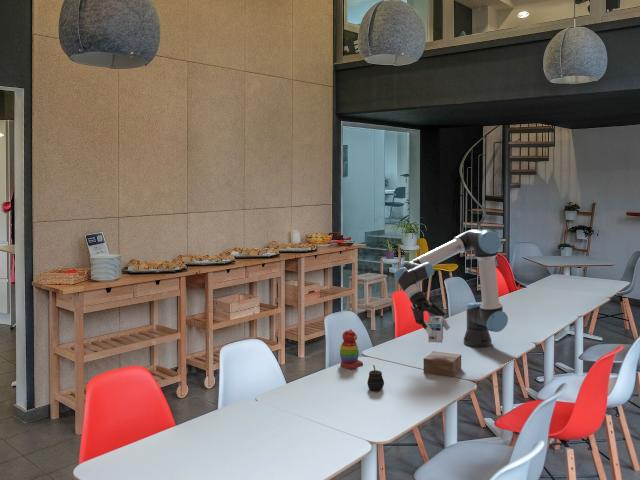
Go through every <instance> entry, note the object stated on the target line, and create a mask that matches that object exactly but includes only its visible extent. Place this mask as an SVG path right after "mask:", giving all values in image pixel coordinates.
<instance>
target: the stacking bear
mask: <svg viewBox="0 0 640 480" xmlns="http://www.w3.org/2000/svg"><path fill="white" fill-rule="evenodd" d="M341 337H342V340H343V341H342V343H341V345H340V349H339V356H340V360H341V361H340V366H341V367H342V368H343V369H346V370H347V369H348V370H354V369H356V368H357V367H360V366H363V365H364V364H363V361H362V360H358V359H359V355H360V353H359V346H358V344H357V342H356V341H357V339H358V335H357V334H356V332H355V331H353V330H352V329H351V328H350V329H349V330H345V331H344V332H342V336H341Z"/></svg>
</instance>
